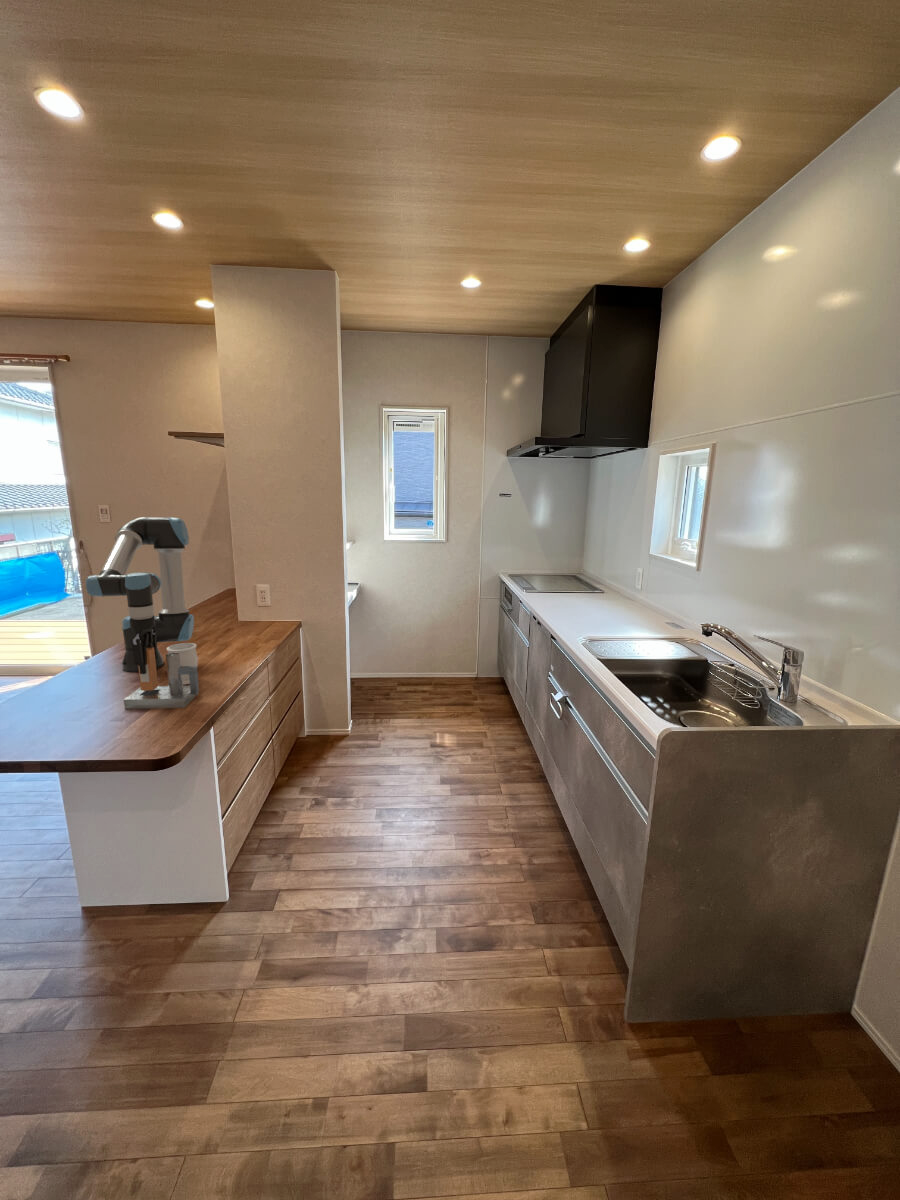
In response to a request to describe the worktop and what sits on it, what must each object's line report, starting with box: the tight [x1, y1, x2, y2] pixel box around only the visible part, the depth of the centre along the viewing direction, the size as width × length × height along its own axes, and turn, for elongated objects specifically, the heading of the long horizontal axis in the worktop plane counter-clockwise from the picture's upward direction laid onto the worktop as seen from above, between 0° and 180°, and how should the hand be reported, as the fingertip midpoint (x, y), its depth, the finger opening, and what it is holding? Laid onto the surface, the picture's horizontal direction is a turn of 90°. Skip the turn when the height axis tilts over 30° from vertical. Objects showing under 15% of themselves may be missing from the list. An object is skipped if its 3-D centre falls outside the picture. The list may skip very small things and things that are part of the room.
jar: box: [166, 642, 199, 686], centre depth 192 cm, size 11×10×15 cm
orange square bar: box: [138, 647, 159, 691], centre depth 172 cm, size 4×4×15 cm
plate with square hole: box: [123, 652, 200, 710], centre depth 173 cm, size 12×22×18 cm, turn 97°
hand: (148, 678), depth 173 cm, fingers closed on orange square bar, 4 cm apart
